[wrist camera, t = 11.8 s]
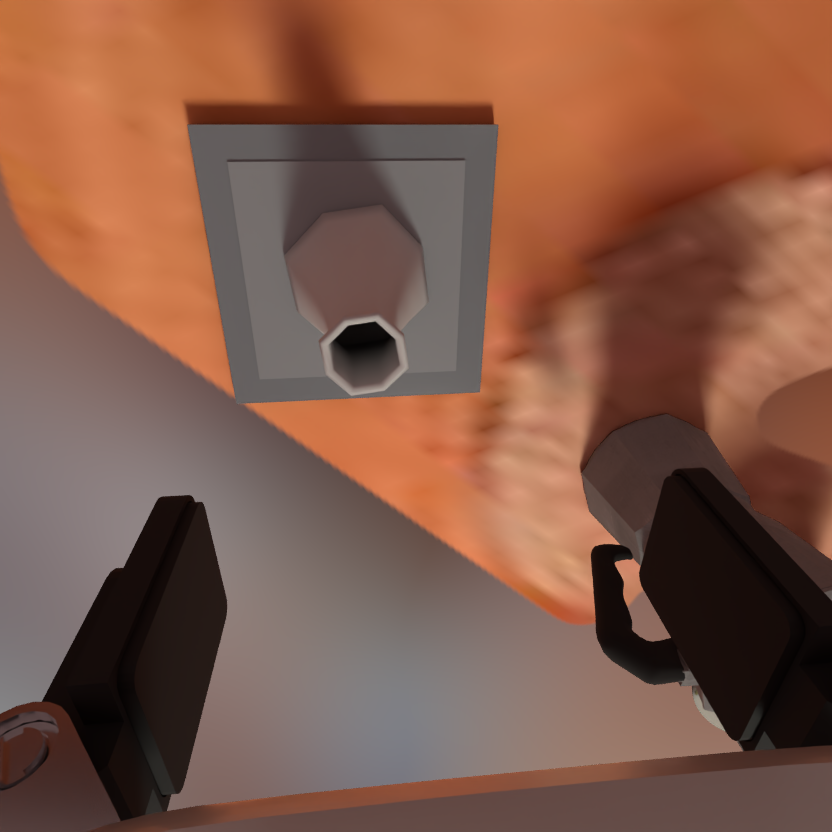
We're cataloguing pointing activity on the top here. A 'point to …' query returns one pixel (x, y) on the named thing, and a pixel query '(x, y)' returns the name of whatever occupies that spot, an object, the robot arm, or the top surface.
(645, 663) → the coffeepot
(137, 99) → the top surface
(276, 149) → the slate coaster
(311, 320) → the flask
